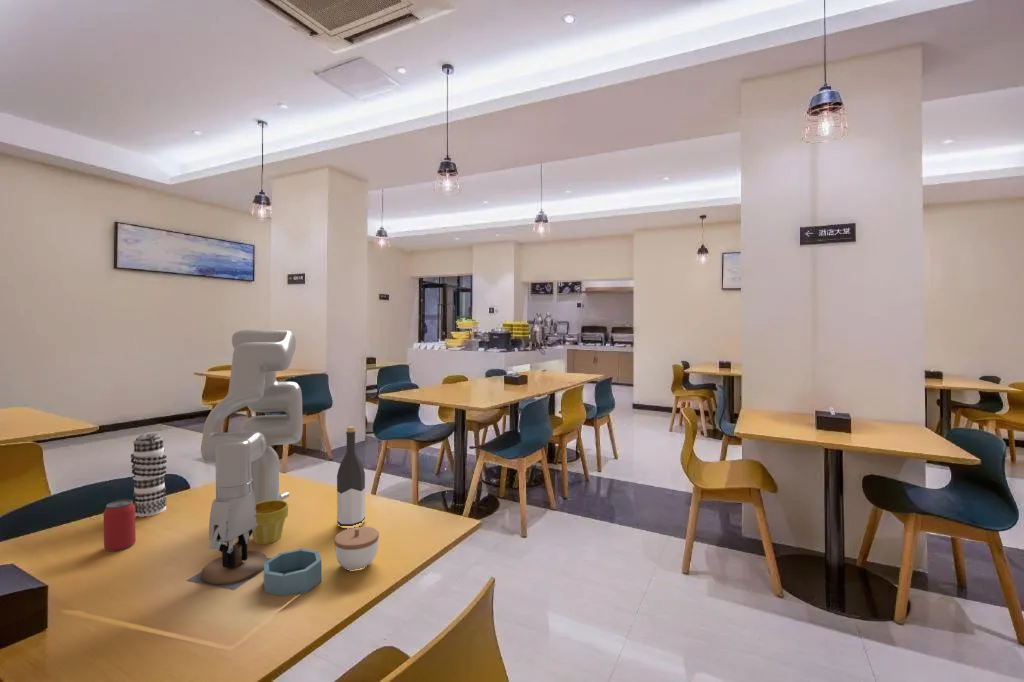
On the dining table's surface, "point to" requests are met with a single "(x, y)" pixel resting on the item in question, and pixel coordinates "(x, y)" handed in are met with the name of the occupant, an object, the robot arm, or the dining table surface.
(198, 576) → the mat
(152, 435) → the decorative candle
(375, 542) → the lidded jar
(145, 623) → the dining table surface
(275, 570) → the bowl
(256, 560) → the lid
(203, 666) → the dining table surface
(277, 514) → the plant pot
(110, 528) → the beer can
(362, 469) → the wine bottle
